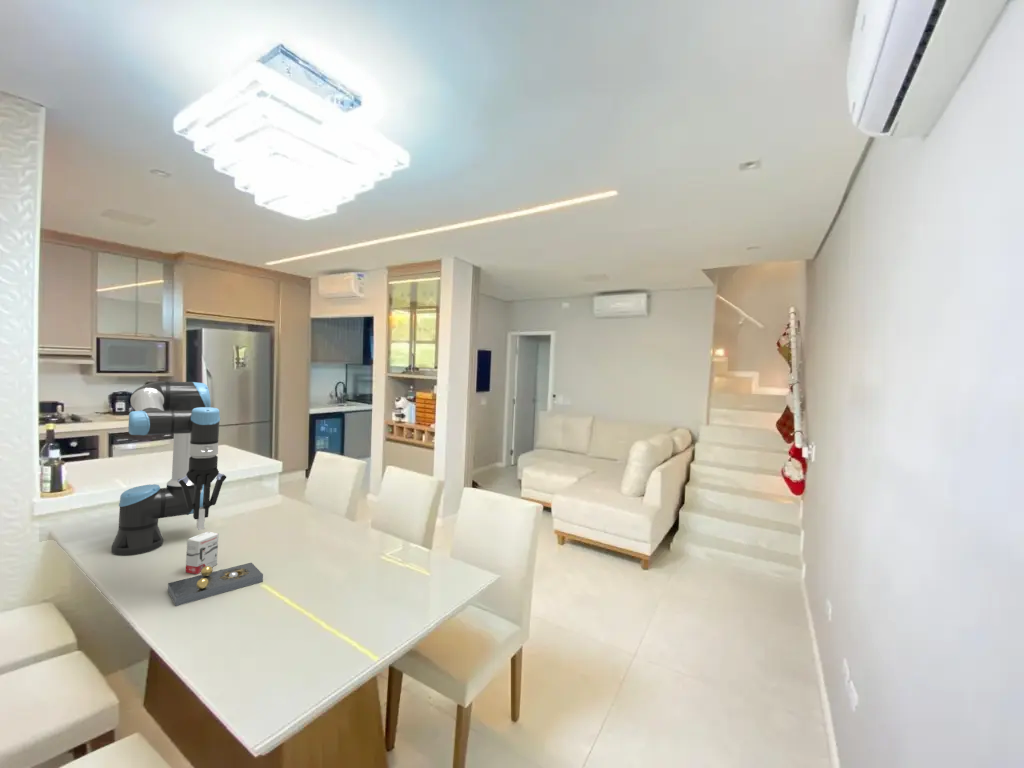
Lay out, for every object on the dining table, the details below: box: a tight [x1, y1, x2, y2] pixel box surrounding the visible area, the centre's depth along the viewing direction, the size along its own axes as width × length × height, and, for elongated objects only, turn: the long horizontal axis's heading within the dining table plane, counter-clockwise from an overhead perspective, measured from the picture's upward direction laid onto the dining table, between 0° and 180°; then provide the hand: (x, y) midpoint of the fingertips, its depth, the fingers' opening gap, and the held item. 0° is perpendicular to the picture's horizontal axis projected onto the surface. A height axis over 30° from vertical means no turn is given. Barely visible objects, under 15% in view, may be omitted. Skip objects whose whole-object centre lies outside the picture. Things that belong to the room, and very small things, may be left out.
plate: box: [167, 561, 264, 607], centre depth 145 cm, size 24×12×2 cm, turn 137°
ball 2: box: [196, 578, 209, 589], centre depth 138 cm, size 3×3×3 cm
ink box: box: [185, 531, 219, 575], centre depth 155 cm, size 9×5×12 cm, turn 168°
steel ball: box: [228, 572, 239, 577], centre depth 148 cm, size 3×3×3 cm
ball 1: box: [200, 566, 214, 576], centre depth 146 cm, size 3×3×3 cm
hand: (200, 528), depth 141 cm, fingers closed
